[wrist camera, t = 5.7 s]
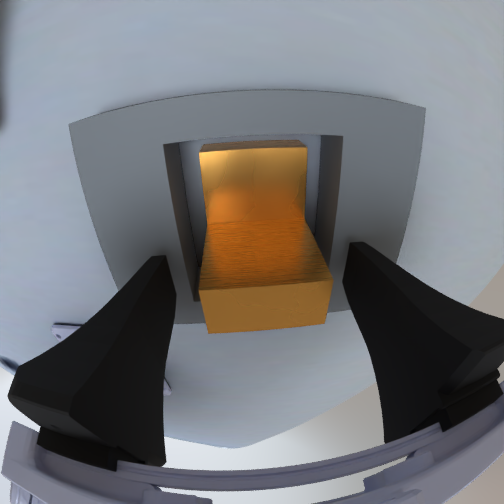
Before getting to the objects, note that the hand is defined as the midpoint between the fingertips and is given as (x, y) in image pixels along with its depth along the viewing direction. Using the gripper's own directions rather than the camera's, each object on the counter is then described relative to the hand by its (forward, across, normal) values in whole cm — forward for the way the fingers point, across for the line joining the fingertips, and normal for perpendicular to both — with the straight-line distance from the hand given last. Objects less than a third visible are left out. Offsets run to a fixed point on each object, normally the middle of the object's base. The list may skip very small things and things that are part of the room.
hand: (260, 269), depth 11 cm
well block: (+3, 0, -2) cm, 3 cm away
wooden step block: (+3, 0, -2) cm, 4 cm away
